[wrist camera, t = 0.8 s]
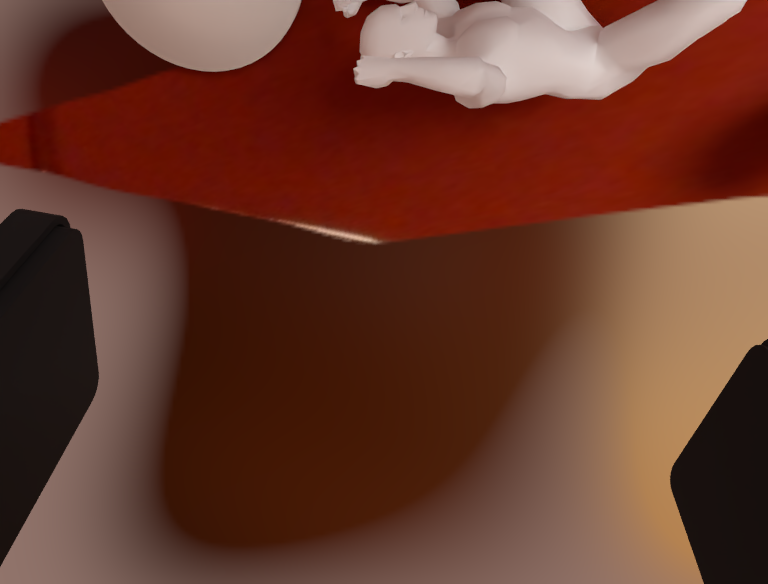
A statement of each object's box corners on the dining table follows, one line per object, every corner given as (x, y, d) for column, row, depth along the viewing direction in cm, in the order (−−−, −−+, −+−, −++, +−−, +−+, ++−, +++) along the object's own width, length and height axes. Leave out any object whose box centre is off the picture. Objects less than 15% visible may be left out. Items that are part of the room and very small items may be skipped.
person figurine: (788, -202, 23) (355, 95, 27) (821, 81, 32) (485, 276, 36) (617, -239, 33) (314, -14, 37) (677, -14, 41) (424, 149, 45)
